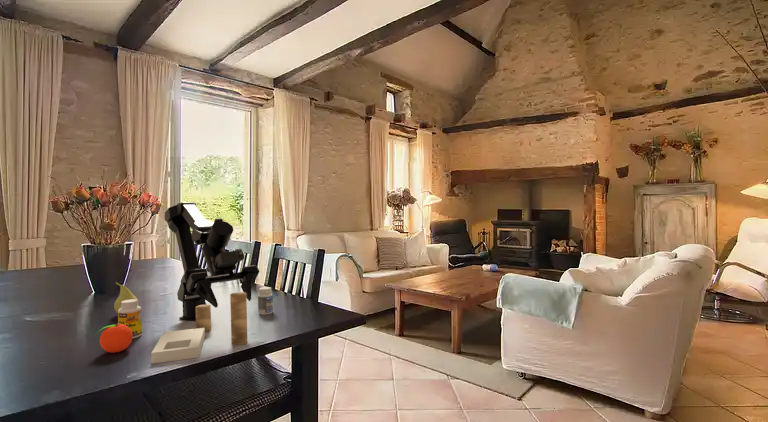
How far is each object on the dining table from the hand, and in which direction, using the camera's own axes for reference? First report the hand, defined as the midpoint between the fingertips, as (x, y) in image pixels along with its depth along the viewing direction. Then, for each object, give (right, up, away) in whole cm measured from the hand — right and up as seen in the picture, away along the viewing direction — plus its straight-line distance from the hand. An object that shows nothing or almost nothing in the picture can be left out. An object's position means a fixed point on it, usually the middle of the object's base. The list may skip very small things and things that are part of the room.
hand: (234, 303), depth 108 cm
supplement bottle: (-31, -11, +4) cm, 33 cm away
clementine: (-27, -11, -7) cm, 30 cm away
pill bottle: (+1, -10, +26) cm, 28 cm away
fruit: (-46, -10, +26) cm, 54 cm away
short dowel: (-12, -10, +9) cm, 18 cm away
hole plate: (-12, -10, -6) cm, 16 cm away
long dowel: (+2, -10, -2) cm, 10 cm away
